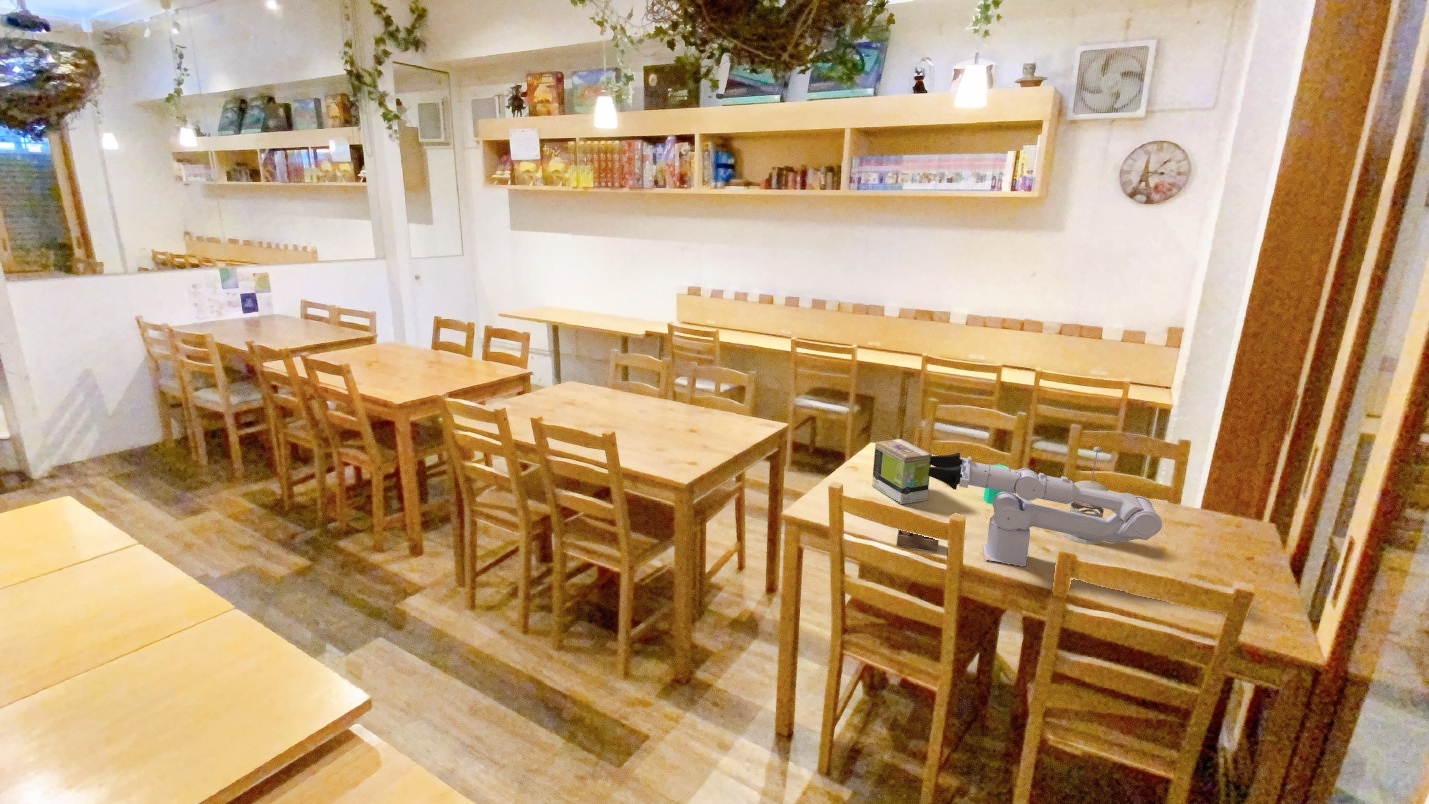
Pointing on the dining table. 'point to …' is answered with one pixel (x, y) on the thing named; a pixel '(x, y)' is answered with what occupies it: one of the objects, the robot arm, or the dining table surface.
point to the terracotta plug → (905, 533)
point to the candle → (991, 491)
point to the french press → (1087, 506)
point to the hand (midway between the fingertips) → (929, 465)
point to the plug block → (917, 542)
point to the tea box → (901, 471)
